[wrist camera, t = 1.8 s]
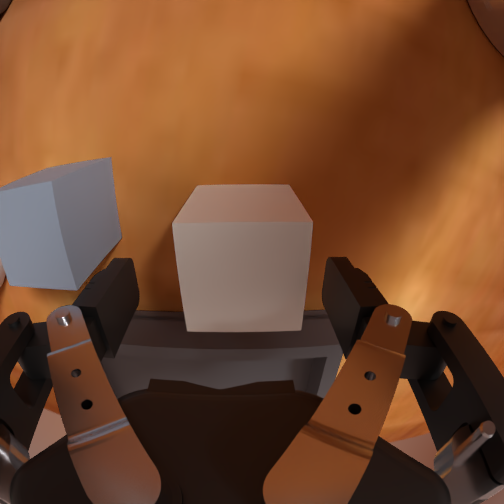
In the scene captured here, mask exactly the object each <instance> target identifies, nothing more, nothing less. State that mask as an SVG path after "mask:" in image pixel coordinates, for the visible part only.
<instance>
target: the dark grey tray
mask: <svg viewBox="0 0 504 504" xmlns="http://www.w3.org/2000/svg"><path fill="white" fill-rule="evenodd" d="M342 355H343V351H342V349H341V346H340V344H339V341H338V339H337V336H336V334H335V332H334V329H333V327H332V324H331V322H330V319H329V317H328V315H327V312H326V310H311V311H304V313H303V321H302V328H301V330H298V331H271V332H191V331H187V328H186V322H185V316H184V312H163V311H138V310H136V311H135V313H134V315H133V317H132V319H131V322H130V324H129V326H128V328H127V331H126V333H125V335H124V337H123V340H122V342H121V344H120V347H119V349H118V351H117V354H116V356H115V359H114V358H105V357H103V359H102V361H101V363H102V365H103V367H104V369H105V372H106V374H107V376H108V378H109V380H110V383H111V385H112V387H113V389H114V391H115V393H116V395H117V397H118V398H120V397H121V396H123V395H126V394H128V393H131V392H134V391H138V390H142V389H148V386H149V382H150V379H162V380H177V381H186V382H190V383H194V384H198V385H202V386H207V387H211V388H215V389H225V388H230V387H235V386H240V385H245V384H249V383H254V382H260V381H282V380H293V382H294V387H295V390H299V391H304V392H308V393H311V394H315V395H317V396H320V397H322V398H324V397H325V396H326V394H327V392H328V391H329V389H330V388H331V386H332V384H333V382H334V381H335V378H336V375H337V371H338V368H339V365H340V362H341V358H342Z"/></svg>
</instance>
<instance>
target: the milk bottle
mask: <svg viewBox="0 0 504 504" xmlns="http://www.w3.org/2000/svg"><path fill="white" fill-rule="evenodd" d="M5 275H6V273H5V270H4V268H3V265H2V262H1V259H0V287H1V286H2V284H3V281H4V278H5Z"/></svg>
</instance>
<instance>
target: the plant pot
mask: <svg viewBox="0 0 504 504" xmlns="http://www.w3.org/2000/svg"><path fill="white" fill-rule="evenodd" d="M10 2H11V0H0V14H1V13H2V12H4V11H5V10H6V9H7V7H8V6H9V4H10Z"/></svg>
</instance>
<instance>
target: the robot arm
mask: <svg viewBox="0 0 504 504" xmlns="http://www.w3.org/2000/svg"><path fill="white" fill-rule="evenodd" d="M468 3H469V5H470V7H471V10H472V12H473V14H474V15H475V17H476V19H477V21H478V23H479V25H480V26H481V28H482V29H483V31H484V33H485V34H486V36H487V37H488V38H489V40H490V41H491V43H492V44H493V45H494V46H495V47H496V49H497V50H498V51H499V52H500V53H501V54H502V55H503V56H504V0H468ZM322 301H323V305H324V307H325V310H326V312H327V315H328V317H329V319H330V322H331V324H332V327H333V329H334V332H335V334H336V336H337V339H338V341H339V344H340V346H341V349H342V351H343V354H344V356H345V359H347V360H346V361H345V363H344V365H343V367H342V369H341V370H340V372H339V374H338V376H337V377H336V379H335V381H334V382H333V384H332V386H331V388H330V389H329V391H328V392H327V394H326V396H325V397H324V398H322V397H320V396H317V395H315V394H311V393H308V392H304V391H299V390H295V387H294V382H293V380H282V381H260V382H254V383H249V384H245V385H240V386H235V387H230V388H225V389H215V388H211V387H207V386H202V385H198V384H194V383H190V382H186V381H177V380H162V379H150V382H149V386H148V389H142V390H138V391H134V392H131V393H128V394H126V395H123V396H121V397H120V398H118V397H117V395H116V393H115V391H114V389H113V387H112V385H111V383H110V380H109V378H108V376H107V374H106V372H105V369H104V367H103V365H102V363H101V361H102V359H103V357H105V358H114V359H115V356H116V354H117V351H118V349H119V347H120V344H121V342H122V340H123V337H124V335H125V333H126V331H127V328H128V326H129V324H130V322H131V319H132V317H133V315H134V313H135V311H136V309H137V306H138V304H139V288H138V283H137V278H136V273H135V268H134V263H133V260H132V259H131V258H114V259H113V260H112V261H111V262H110V264H109V265H108V266H107V268H106V269H103V270H102V271H100V272H99V273H97V274H96V275H94V277H93V278H92V279H91V280H90V282H89V284H87V286H86V287H85V289H84V290H83V291H82V292H81V294H80V295H79V296H78V298H77V299H76V300H75V302H74V303H73V304H72V305H67V306H62V307H60V308H57V309H56V310H54V311H53V312H51V314H50V315H49V316H48V318H47V322H40V323H33V324H32V321H31V319H30V317H29V315H28V314H27V313H25V312H17V313H14V314H11V315H10V316H8V317H7V318H6V319H4V321H3V322H2V323H1V324H0V503H1V504H480V503H482V502H483V501H485V500H487V499H488V498H490V497H491V496H493V495H495V494H496V493H498V492H499V491H501V490H502V489H503V488H504V378H503V376H502V374H501V373H500V371H499V370H498V368H497V367H496V365H495V364H494V363H493V361H492V360H491V358H490V357H489V355H488V354H487V353H486V351H485V350H484V348H483V347H482V346H481V344H480V343H479V341H478V340H477V339H476V337H475V336H474V335H473V333H472V332H471V331H470V329H469V328H468V327H467V326H466V324H465V323H464V322H463V321H462V319H461V318H459V317H458V316H457V315H455V314H453V313H451V312H447V311H438V312H436V313H434V314H433V316H432V319H431V321H430V323H428V322H419V321H412V317H411V315H410V314H409V313H408V312H407V311H406V310H405V309H403V308H401V307H399V306H396V305H391V304H388V302H387V301H386V300H385V298H384V297H383V295H382V294H381V293H380V291H379V290H378V288H376V286H375V284H374V283H372V280H371V279H370V278H369V276H368V275H367V274H366V273H365V272H363V271H362V270H360V269H358V268H354V267H353V265H352V264H351V263H350V261H349V260H348V258H347V257H328V259H327V262H326V268H325V275H324V281H323V288H322ZM17 361H18V362H19V364H20V366H21V367H22V369H23V372H22V374H21V376H20V378H19V380H18V382H17V384H16V386H15V388H14V389H13V387H12V386H11V383H10V374H11V372H12V370H13V368H14V366H15V365H16V363H17ZM446 366H448V368H449V370H450V371H451V373H452V375H453V379H454V383H453V387H452V386H451V384H450V383H449V381H448V379H447V377H446V375H445V373H444V372H443V371H444V369H445V367H446ZM399 378H403V379H408V381H409V383H410V386H411V388H412V390H413V392H414V395H415V397H416V399H417V402H418V404H419V406H420V409H421V411H422V413H423V416H424V418H425V421H426V423H427V426H428V428H429V431H430V433H431V436H432V439H433V441H434V444H435V446H436V449H437V454H436V455H435V459H434V470H431V469H430V468H428V467H426V466H424V465H423V464H422V463H420V462H418V461H417V460H415V459H413V458H411V457H410V456H408V455H407V454H405V453H404V452H402V451H401V450H399V449H398V448H396V447H395V446H393V445H391V444H390V443H388V442H387V441H385V440H384V439H382V438H381V437H379V434H380V431H381V429H382V426H383V424H384V421H385V419H386V416H387V413H388V411H389V408H390V405H391V402H392V399H393V397H394V394H395V391H396V388H397V384H398V381H399ZM52 387H53V388H54V392H55V396H56V400H57V404H58V407H59V411H60V414H61V418H62V421H63V424H64V427H65V430H66V433H67V435H65V436H64V437H63V438H61V439H59V440H58V441H57V442H55V443H54V444H52V445H51V446H49V447H48V448H46V449H45V450H43V451H42V452H40V453H39V454H38V455H36V456H34V457H33V458H31V459H30V458H29V453H28V450H29V447H30V444H31V441H32V438H33V435H34V432H35V429H36V427H37V424H38V421H39V418H40V416H41V413H42V411H43V408H44V406H45V403H46V401H47V398H48V396H49V394H50V391H51V389H52Z"/></svg>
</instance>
